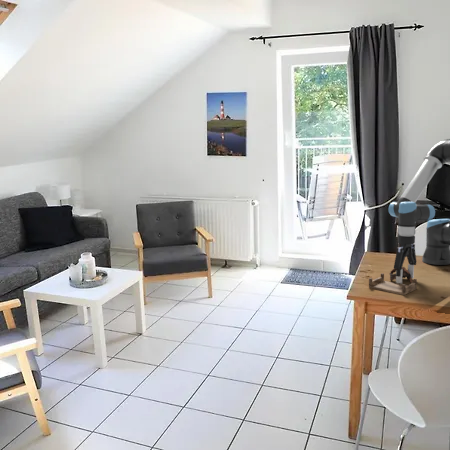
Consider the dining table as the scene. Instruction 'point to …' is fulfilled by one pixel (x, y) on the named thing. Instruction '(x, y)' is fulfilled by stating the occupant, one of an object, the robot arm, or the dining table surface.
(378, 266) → the dining table surface
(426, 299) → the dining table surface
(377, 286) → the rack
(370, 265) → the dining table surface
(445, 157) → the robot arm
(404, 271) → the pottery mug
